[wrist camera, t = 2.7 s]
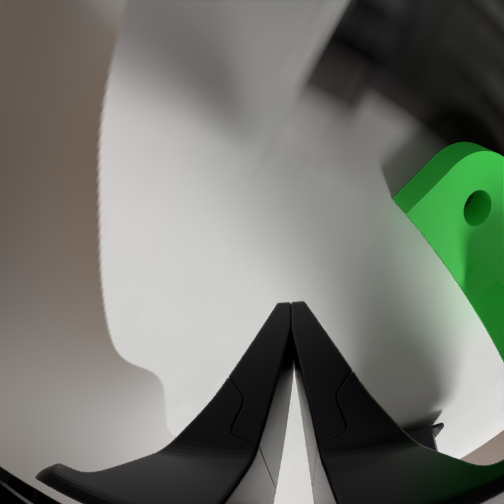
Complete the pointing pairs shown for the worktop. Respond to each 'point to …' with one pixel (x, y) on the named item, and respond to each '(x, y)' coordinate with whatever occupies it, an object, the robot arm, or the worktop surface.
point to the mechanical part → (465, 224)
